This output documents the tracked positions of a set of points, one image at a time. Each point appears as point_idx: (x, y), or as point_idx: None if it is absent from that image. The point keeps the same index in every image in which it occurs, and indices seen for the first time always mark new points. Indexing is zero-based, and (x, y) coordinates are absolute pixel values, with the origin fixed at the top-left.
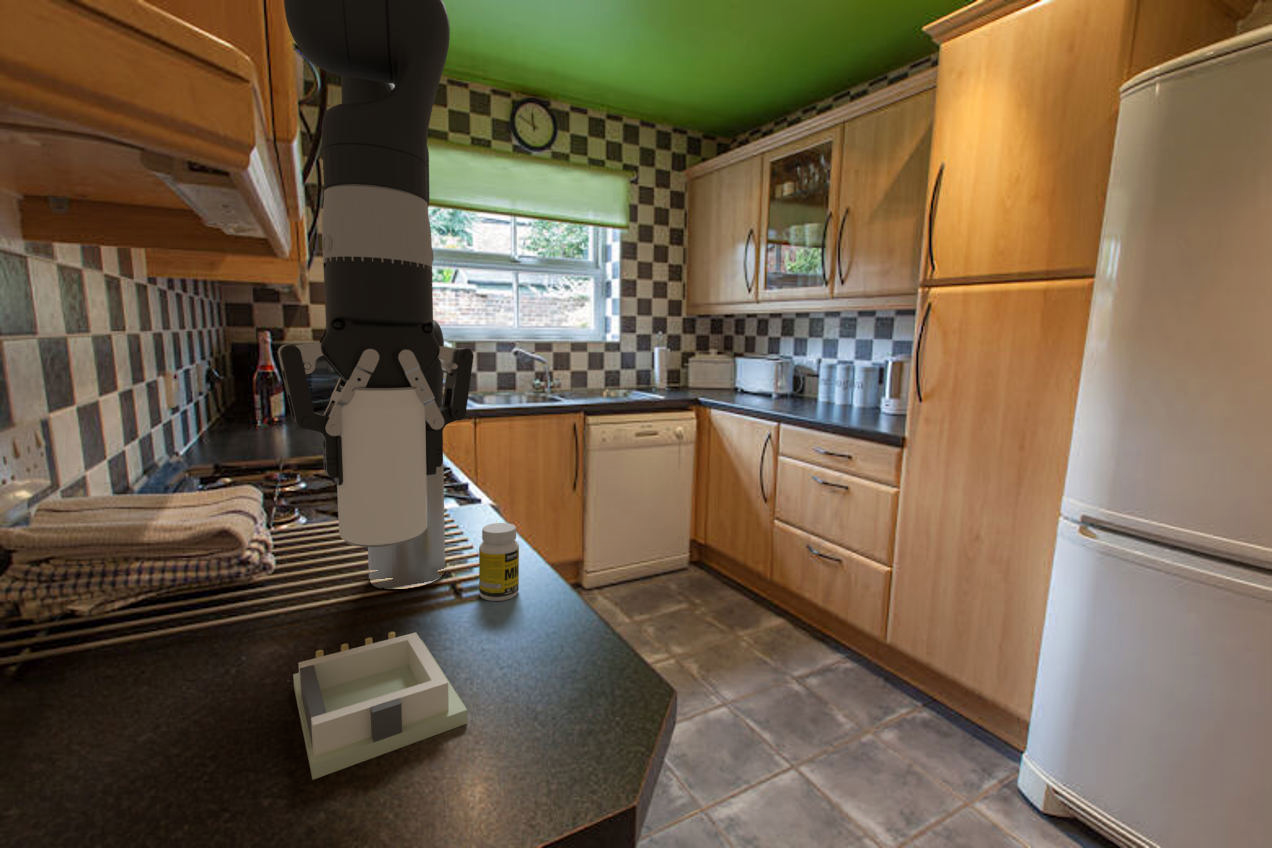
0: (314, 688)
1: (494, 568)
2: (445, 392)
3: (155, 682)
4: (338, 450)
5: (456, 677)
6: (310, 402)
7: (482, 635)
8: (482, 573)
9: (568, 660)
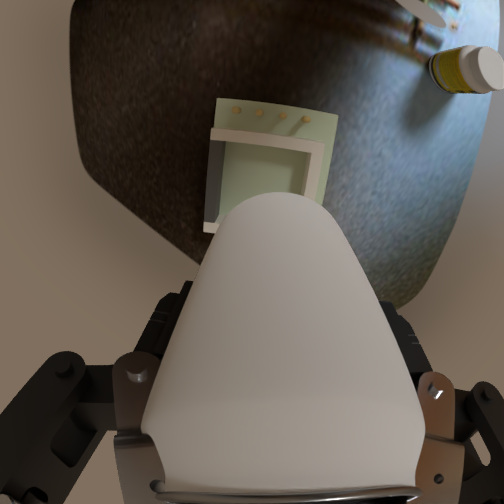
0: (213, 182)
1: (455, 82)
2: (489, 449)
3: (133, 34)
4: None
5: (338, 178)
6: (86, 457)
7: (392, 131)
8: (443, 66)
9: (414, 223)
